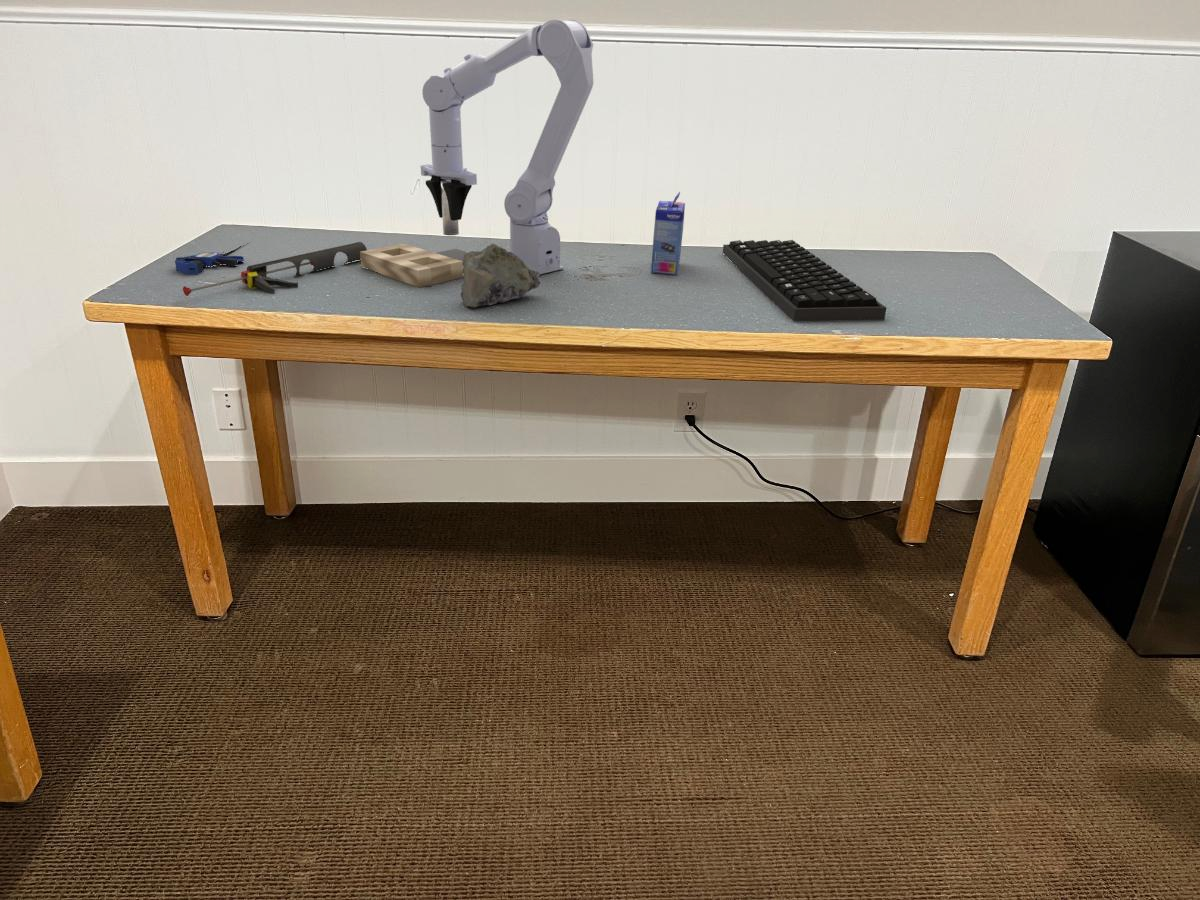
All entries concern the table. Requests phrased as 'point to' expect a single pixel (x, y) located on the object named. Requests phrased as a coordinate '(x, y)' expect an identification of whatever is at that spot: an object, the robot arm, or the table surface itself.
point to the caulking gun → (318, 259)
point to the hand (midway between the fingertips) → (450, 218)
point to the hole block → (412, 264)
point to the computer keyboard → (802, 282)
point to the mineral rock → (495, 277)
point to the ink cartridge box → (667, 237)
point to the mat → (453, 254)
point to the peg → (447, 214)
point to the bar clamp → (204, 262)
